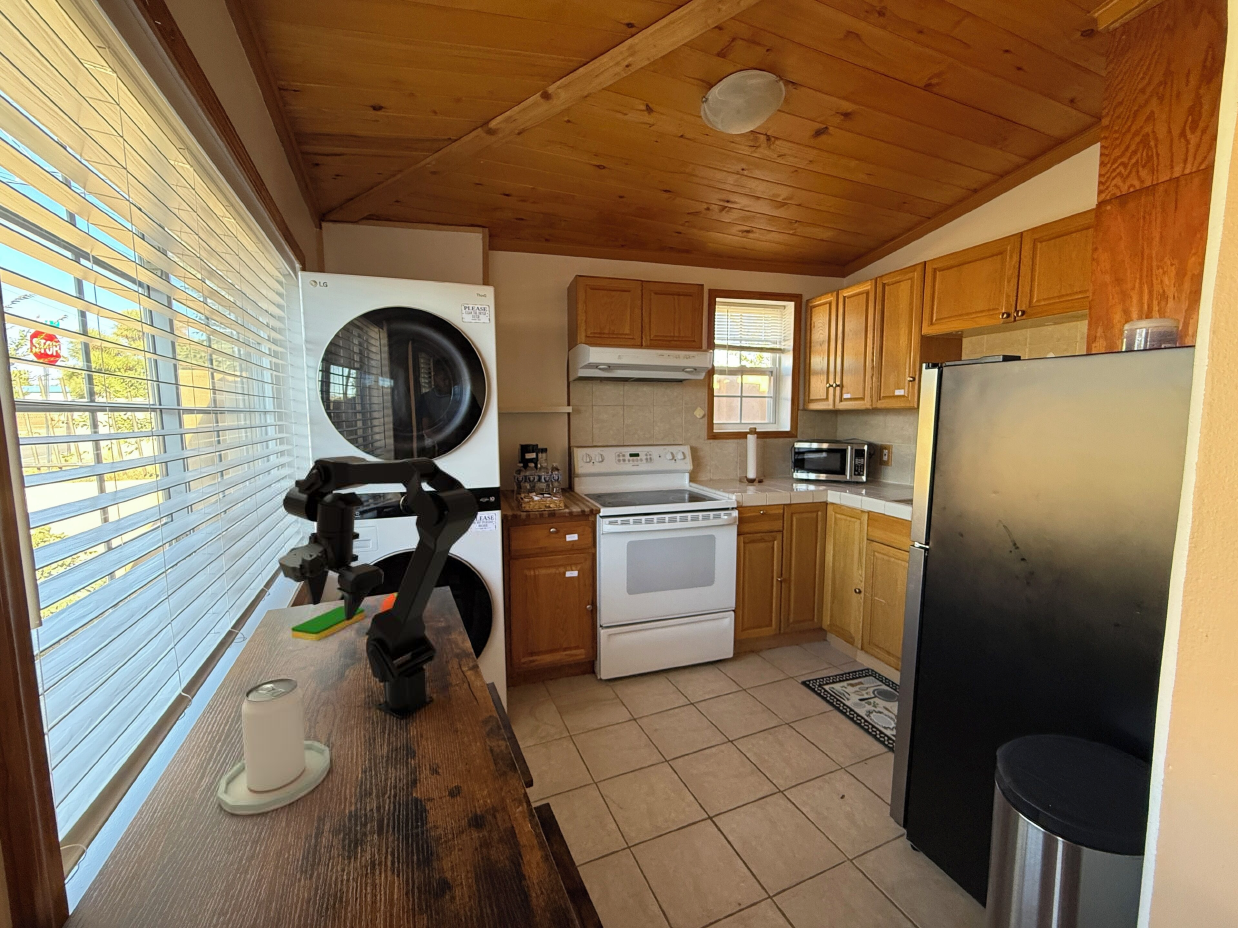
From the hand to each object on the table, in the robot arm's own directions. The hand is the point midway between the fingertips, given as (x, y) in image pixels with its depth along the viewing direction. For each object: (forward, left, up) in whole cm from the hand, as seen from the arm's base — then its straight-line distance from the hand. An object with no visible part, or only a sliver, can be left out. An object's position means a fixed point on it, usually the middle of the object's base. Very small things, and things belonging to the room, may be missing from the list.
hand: (332, 611), depth 91 cm
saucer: (-17, +19, -13) cm, 29 cm away
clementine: (+13, -23, -13) cm, 29 cm away
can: (-18, +19, -13) cm, 29 cm away
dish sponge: (+25, -14, -14) cm, 31 cm away
